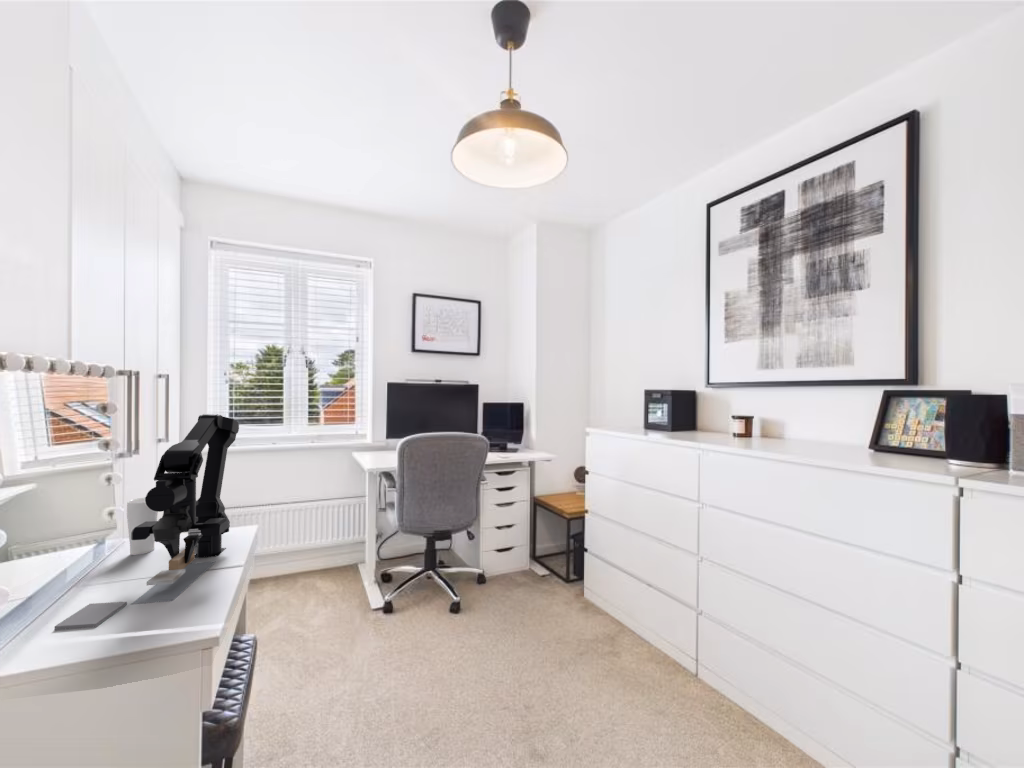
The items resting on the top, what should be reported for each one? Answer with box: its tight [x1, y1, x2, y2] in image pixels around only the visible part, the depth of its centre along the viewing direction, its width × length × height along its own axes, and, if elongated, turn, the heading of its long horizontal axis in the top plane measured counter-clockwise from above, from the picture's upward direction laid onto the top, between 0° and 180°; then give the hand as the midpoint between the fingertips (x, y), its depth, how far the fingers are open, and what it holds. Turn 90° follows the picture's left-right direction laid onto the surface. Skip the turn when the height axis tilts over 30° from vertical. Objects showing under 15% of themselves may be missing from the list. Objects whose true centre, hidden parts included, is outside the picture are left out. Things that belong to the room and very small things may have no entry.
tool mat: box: [131, 561, 217, 605], centre depth 109 cm, size 22×8×1 cm, turn 12°
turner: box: [146, 548, 196, 586], centre depth 107 cm, size 14×5×3 cm, turn 12°
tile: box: [54, 601, 128, 631], centre depth 92 cm, size 2×7×9 cm
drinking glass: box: [126, 497, 159, 556], centre depth 127 cm, size 7×7×15 cm
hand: (181, 563), depth 110 cm, fingers closed on turner, 2 cm apart
